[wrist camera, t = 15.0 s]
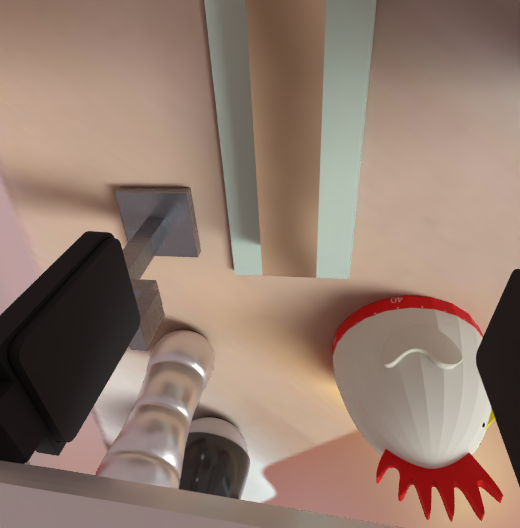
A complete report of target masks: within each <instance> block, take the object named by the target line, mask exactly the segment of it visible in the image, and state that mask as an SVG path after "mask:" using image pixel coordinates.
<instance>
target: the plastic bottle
mask: <svg viewBox="0 0 520 528" xmlns="http://www.w3.org/2000/svg"><path fill="white" fill-rule="evenodd" d="M214 358H215V354H214V351H213V349H212V347H211V345H210V343H209V342H208V340H207V339H206V338H204V337H203V336H202V335H200V334H198V333H196V332H193V331H188V330H177V331H173V332H171V333H168V334H166V335H165V336H163V337H162V338H161V339H160V340H159V341H158V343H157V344H156V345H155V347H154V348H153V350H152V352H151V355H150V358H149V362H148V366H147V373H146V376H145V379H144V381H143V384H142V387H141V390H140V393H139V396H138V399H137V401H136V403H135V405H134V407H133V409H132V411H131V413H130V415H129V417H128V418H127V420H126V422H125V424H124V426H123V428H122V430H121V432H120V433H119V435H118V436H117V438H116V440H115V441H114V443H113V444H112V446H111V448H110V449H109V451H108V452H107V454H106V456H105V457H104V459H103V460H102V462H101V464H100V466H99V468H98V469H97V471H96V476H102V477H108V478H114V479H120V480H126V481H132V482H138V483H144V484H150V485H156V486H162V487H168V488H174V489H179V484H180V478H181V472H182V465H183V459H184V452H185V446H186V442H187V438H188V434H189V428H190V426H191V421H192V417H193V414H194V412H195V409H196V407H197V404H198V402H199V399H200V397H201V394H202V392H203V390H204V389H205V387H206V385H207V383H208V381H209V379H210V377H211V375H212V372H213V370H214Z"/></svg>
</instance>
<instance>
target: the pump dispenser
mask: <svg viewBox="0 0 520 528" xmlns="http://www.w3.org/2000/svg"><path fill="white" fill-rule="evenodd" d="M249 467H250V459H249V456H248V450H247V445H246V442H245V439H244V437H243V436H242V434H241V433H240V431H239V430H238V429H237V428H236V427H235V426H233V425H232V424H230V423H229V422H227V421H225V420H222V419H218V418H212V417H205V418H199V419H196V420H193V421H191V426H190V428H189V434H188V438H187V442H186V446H185V452H184V459H183V465H182V472H181V478H180V484H179V489H180V490H186V491H192V492H198V493H204V494H210V495H216V496H222V497H228V498H233V499H239V500H240V499H241V496H242V493H243V490H244V487H245V483H246V480H247V477H248V472H249Z"/></svg>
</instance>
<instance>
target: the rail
mask: <svg viewBox="0 0 520 528" xmlns="http://www.w3.org/2000/svg"><path fill="white" fill-rule="evenodd" d="M245 3H246V19H247V35H248V51H249V67H250V83H251V99H252V115H253V131H254V147H255V162H256V178H257V194H258V210H259V226H260V242H261V258H262V274H263V276H287V277H313V278H316V269H317V241H318V213H319V185H320V157H321V129H322V101H323V73H324V46H325V18H326V0H245Z"/></svg>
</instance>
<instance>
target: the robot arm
mask: <svg viewBox="0 0 520 528" xmlns="http://www.w3.org/2000/svg"><path fill="white" fill-rule="evenodd" d="M139 325H140V313H139V310H138V306H137V302H136V299H135V295H134V291H133V288H132V284H131V280H130V277H129V273H128V269H127V265H126V262H125V258H124V254H123V251H122V247H121V244H120V241H119V240H118V239H115V238H114V236H113V235H112V234H111V233H107V232H93V231H88V232H85V233H84V234H83V235H82V236H81V237H80V238H79V239H78V240H77V241H76V242H75V243H74V244H73V245H72V246H71V247H70V248H69V249H68V250H67V251H65V252H64V253H63V254H62V255H61V256H60V257H59V258H58V259H57V260H56V261H55V262H54V263H53V264H52V265H51V266H50V267H49V268H48V269H47V270H46V271H45V272H44V273H43V274H42V275H41V276H40V277H39V278H38V279H37V280H36V281H35V282H34V283H33V284H32V285H31V286H30V287H29V288H28V289H27V290H26V291H25V292H24V293H23V294H22V295H21V296H20V297H18V298H17V299H16V300H15V301H14V302H13V303H12V304H11V305H10V306H9V307H8V308H7V309H6V310H5V311H4V312H3V313H2V314H1V315H0V528H401V527H396V526H390V525H384V524H379V523H373V522H367V521H362V520H356V519H350V518H345V517H339V516H333V515H327V514H321V513H315V512H310V511H303V510H298V509H292V508H286V507H280V506H275V505H268V504H263V503H257V502H251V501H245V500H239V499H233V498H228V497H222V496H216V495H210V494H204V493H198V492H192V491H186V490H180V489H174V488H168V487H162V486H156V485H150V484H144V483H138V482H132V481H126V480H120V479H114V478H108V477H102V476H96V475H90V474H83V473H78V472H72V471H66V470H59V469H53V468H46V467H40V466H33V465H30V464H29V459H30V457H31V456H32V454H33V453H34V451H35V450H36V451H37V452H39V453H45V454H51V455H57V456H58V455H59V454H60V452H61V451H62V449H63V448H64V446H65V444H66V442H70V441H72V440H73V439H74V438H75V437H76V435H77V433H78V432H79V430H80V428H81V427H82V425H83V423H84V421H85V420H86V418H87V416H88V415H89V413H90V411H91V409H92V408H93V406H94V404H95V403H96V401H97V399H98V397H99V396H100V394H101V392H102V391H103V389H104V387H105V385H106V384H107V382H108V380H109V378H110V377H111V375H112V373H113V372H114V370H115V368H116V366H117V365H118V363H119V361H120V360H121V358H122V356H123V354H124V353H125V351H126V349H127V348H128V346H129V344H130V342H131V341H132V339H133V337H134V336H135V334H136V332H137V330H138V328H139ZM476 365H477V369H478V372H479V374H480V377H481V380H482V383H483V385H484V388H485V391H486V394H487V397H488V399H489V402H490V405H491V408H492V411H493V413H494V416H495V419H496V422H497V425H498V427H499V430H500V433H501V436H502V439H503V441H504V444H505V447H506V450H507V452H508V455H509V458H510V461H511V464H512V467H513V469H514V472H515V475H516V478H517V480H518V483H519V486H520V269H515V270H514V271H513V272H512V274H511V276H510V278H509V281H508V283H507V285H506V287H505V290H504V292H503V294H502V296H501V298H500V301H499V303H498V305H497V307H496V310H495V312H494V314H493V316H492V319H491V321H490V323H489V325H488V328H487V330H486V332H485V334H484V336H483V339H482V341H481V343H480V345H479V348H478V350H477V353H476Z"/></svg>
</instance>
